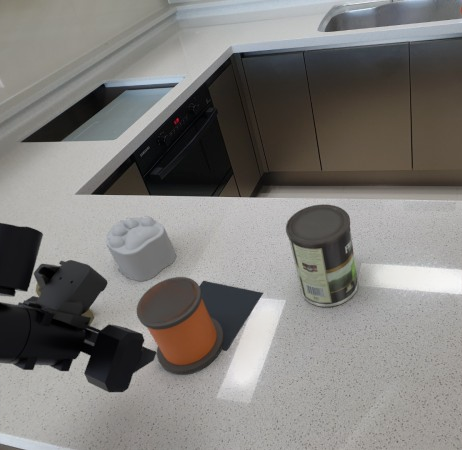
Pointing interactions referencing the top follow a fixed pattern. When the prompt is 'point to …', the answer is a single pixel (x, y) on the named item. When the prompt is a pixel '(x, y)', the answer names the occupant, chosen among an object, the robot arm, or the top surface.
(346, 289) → the coffee can
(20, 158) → the top surface
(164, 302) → the spool
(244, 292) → the mat
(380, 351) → the top surface
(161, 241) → the lumpy-topped squat cylinder
